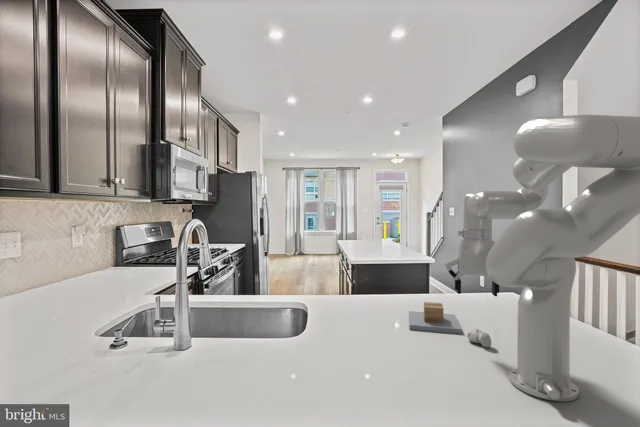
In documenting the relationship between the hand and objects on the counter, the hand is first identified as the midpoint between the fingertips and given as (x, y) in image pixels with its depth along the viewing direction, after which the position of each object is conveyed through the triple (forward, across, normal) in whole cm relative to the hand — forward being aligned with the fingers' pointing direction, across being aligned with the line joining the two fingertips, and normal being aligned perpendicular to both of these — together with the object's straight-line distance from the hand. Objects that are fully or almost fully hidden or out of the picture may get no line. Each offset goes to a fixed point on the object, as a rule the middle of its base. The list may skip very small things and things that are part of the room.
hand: (476, 293), depth 97 cm
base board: (+15, -11, +15) cm, 24 cm away
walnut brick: (+14, -11, +15) cm, 23 cm away
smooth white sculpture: (+15, +1, 0) cm, 15 cm away
